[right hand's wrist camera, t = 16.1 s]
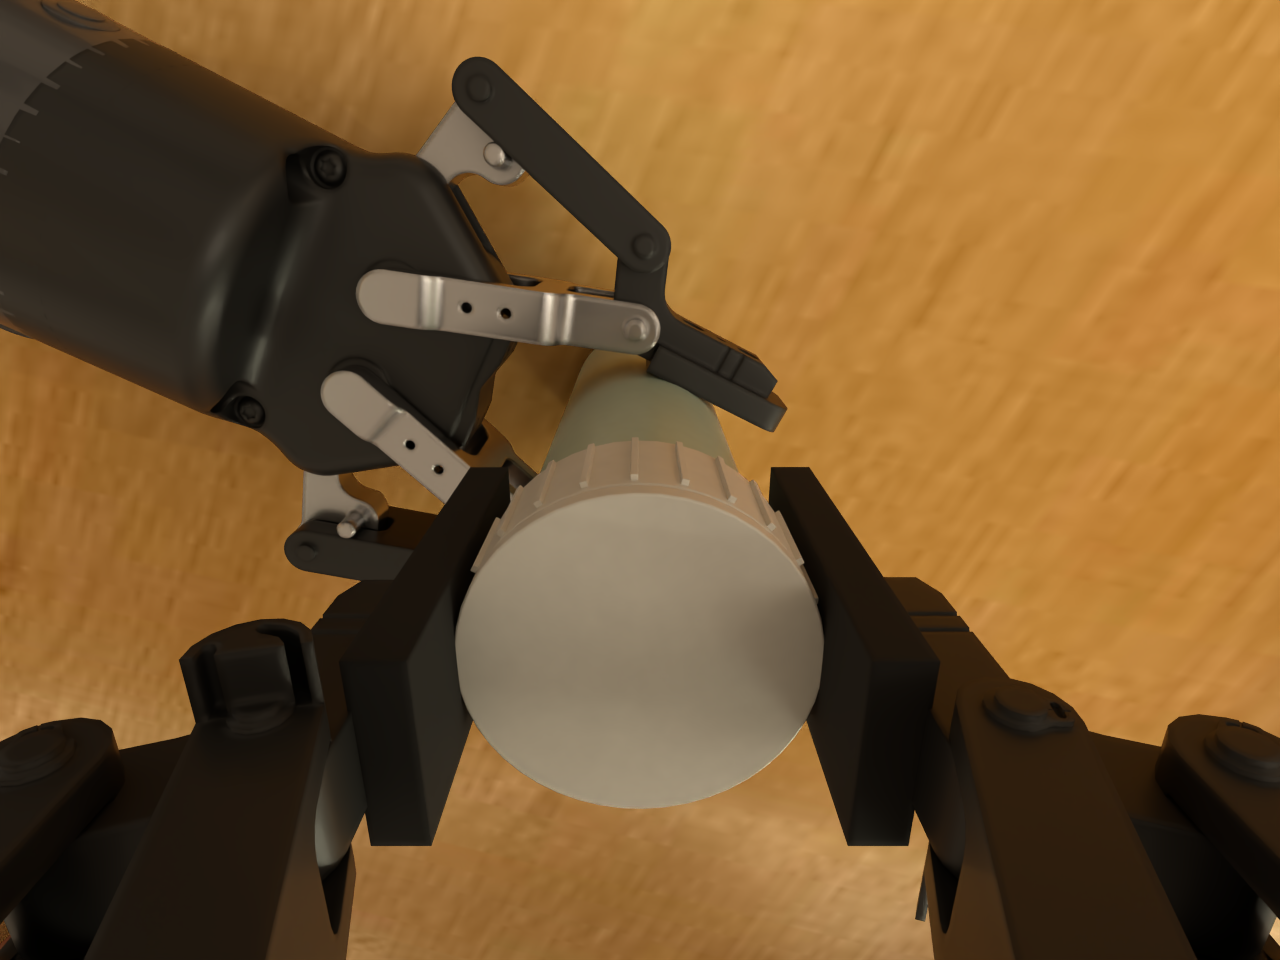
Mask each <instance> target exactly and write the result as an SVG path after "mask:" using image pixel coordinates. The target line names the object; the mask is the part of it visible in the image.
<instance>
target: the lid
mask: <svg viewBox="0 0 1280 960" xmlns="http://www.w3.org/2000/svg"><path fill="white" fill-rule="evenodd" d="M803 564H804V561H803V559H802V557H801V554H800V552H799V550H798V548H797V546H796V544H795V542H794V540H793V538H792V536H791V534H790V531H789V529H788V527H787V525H786V523H785V521H784V519H783V517H782V515H781V513H780V511H777V512H774V511H773V509H772V508H771V506H770V505H769V504H768V502H767V501H766V499H765V498H764V497H763V496H762V493H761V491H760V489H759V487H758V484H757V483H756V482H755V481H754V480H752V481H751V482H749V481H748V480H747V479H745V478H744V477H743V476H742V475H741V474H739V473H738V472H737V471H736V470H734V469H732V468H731V467H729V466H728V465H726V464H725V462H724V459H723V458H722V457H720V456H717V458H713V457H711V456H709V455H707V454H704V453H702V452H700V451H697V450H694V449H691V448H687V447H684V446H683V443H682V442H678V441H676V444H671V443H665V442H659V441H639V438H638V437H632V441H623V442H613V443H608V444H604V445H599V446H595V444H594V443H592V444H589V445H588V447H587V449H585V450H582V451H580V452H577V453H574V454H572V455H570V456H568V457H566V458H564V459H562V460H560V461H558V462H555V461H554V460H552V461H550V462H549V463H548V465H547V468H546V469H545V470H544V471H542V472H541V473H540V474H538V475H537V476H536V477H535V478H534V479H532V480H531V481H530V482H529V483H528V484H527V485H526V486H525V487H524V488H523V487H522V486H521V485H520V486H519V487H518V488H517V489H516V491H515V493H514V495H513V497H512V500H511V502H510V504H509V506H508V508H507V510H506V511H505V513H504V514H503V516H502V518H501V519H499V518H497V517H496V519H495V520H494V522H493V525H492V527H491V529H490V531H489V533H488V535H487V537H486V539H485V541H484V543H483V545H482V547H481V549H480V551H479V554H478V556H477V558H476V560H475V562H474V564H473V566H472V568H471V571H472V572H474V573H475V576H474V577H473V580H472V582H471V584H470V586H469V588H468V591H467V593H466V595H465V598H464V600H463V603H462V605H461V608H460V612H459V616H458V620H457V624H456V629H455V647H456V657H457V667H458V676H459V684H460V692H461V695H462V697H463V700H464V702H465V705H466V708H467V710H468V712H469V714H470V715H471V717H472V719H473V721H474V723H475V724H476V726H477V728H478V729H479V730H480V732H481V733H482V734H483V736H484V737H485V739H486V740H487V741H488V743H489V744H490V745H491V746H492V747H493V748H494V749H495V750H496V751H497V752H498V753H499V754H500V755H501V756H502V757H503V758H504V759H505V760H506V761H507V762H509V763H510V764H511V765H512V766H514V767H515V768H516V769H517V770H519V771H520V772H521V773H523V774H524V775H526V776H528V777H529V778H531V779H532V780H534V781H536V782H537V783H539V784H541V785H543V786H545V787H547V788H549V789H551V790H553V791H555V792H557V793H560V794H563V795H566V796H569V797H571V798H574V799H577V800H581V801H585V802H589V803H593V804H597V805H603V806H610V807H618V808H636V809H647V808H661V807H670V806H675V805H681V804H687V803H691V802H694V801H698V800H701V799H705V798H708V797H711V796H713V795H716V794H718V793H721V792H723V791H726V790H728V789H730V788H732V787H734V786H736V785H738V784H740V783H741V782H743V781H745V780H747V779H749V778H750V777H752V776H753V775H754V774H756V773H757V772H759V771H760V770H762V769H763V768H764V767H766V766H767V765H768V764H769V763H770V762H771V761H773V760H774V759H775V758H776V757H777V756H778V755H779V754H780V753H781V752H782V751H783V750H784V749H785V748H786V747H787V746H788V744H789V743H790V742H791V741H792V740H793V739H794V738H795V736H796V735H797V733H798V732H799V730H800V729H801V727H802V726H803V724H804V723H805V721H806V719H807V717H808V715H809V713H810V711H811V709H812V707H813V705H814V703H815V700H816V697H817V694H818V691H819V686H820V678H821V669H822V660H823V649H824V632H823V625H822V619H821V616H820V613H819V610H818V606H817V604H818V596H817V593H816V591H815V589H814V587H813V585H812V583H811V581H810V579H809V576H808V574H807V572H806V570H805V568H804V566H803Z"/></svg>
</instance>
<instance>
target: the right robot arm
mask: <svg viewBox="0 0 1280 960" xmlns="http://www.w3.org/2000/svg"><path fill="white" fill-rule="evenodd" d="M510 502H511V500H510V486H509V471H508V467H470V468H469V470H468V471H467V473H466V474H465V476H464V477H463V479H462V480H461V481H460V483H459V484H458V486H457V487H456V489H455V490H454V492H453V493H452V495H451V496H450V498H449V499H448V501H447V502H446V504H445V505H444V507H443V508H442V510H441V511H440V513H439V514H438V515H437V517H436V518H435V520H434V521H433V523H432V524H431V526H430V527H429V529H428V530H427V532H426V533H425V535H424V536H423V538H422V539H421V541H420V542H419V544H418V545H417V546H416V548H415V549H414V551H413V552H412V554H411V555H410V557H409V558H408V560H407V561H406V563H405V564H404V566H403V567H402V569H401V570H400V572H399V573H398V575H397V576H396V577H395V579H394V580H362V581H361V582H359V583H358V584H356V585H354V586H353V587H351V588H350V589H348V590H346V591H345V592H343V593H342V594H340V595H338V596H337V598H336V599H335V600H334V601H333V603H332V604H331V605H330V606H329V608H328V609H327V610H326V611H325V613H324V614H323V618H320V619H319V620H318V621H317V623H316V624H315V625H314V626H313V628H312V629H311V630H310V629H309V628H308V627H306V626H305V625H304V624H302V623H301V622H297V621H292V620H288V619H260V620H256V621H251V622H246V623H241V624H237V625H234V626H231V627H228V628H226V629H223V630H221V631H218V632H215V633H213V634H211V635H209V636H207V637H206V638H204V639H203V640H201V641H199V642H198V643H196V644H194V645H193V646H191V647H190V648H189V650H188V651H187V652H186V653H185V654H184V655H183V656H182V657H181V658H180V659H179V662H180V666H181V670H182V673H183V677H184V681H185V685H186V688H187V692H188V696H189V700H190V703H191V707H192V711H193V714H194V718H195V722H196V724H195V726H194V728H193V730H192V732H191V734H190V735H186V736H183V737H179V738H175V739H170V740H165V741H160V742H155V743H151V744H146V745H141V746H136V747H131V748H126V749H121V750H118V746H117V743H116V740H115V737H114V734H113V731H112V728H110V727H109V726H108V725H106V724H105V723H104V722H103V721H101V720H95V719H88V718H74V719H67V720H59V721H52V722H48V723H44V724H41V725H40V726H37V725H36V726H34V727H31V728H28V729H25V730H22V731H20V732H19V733H17V734H16V735H13V736H11V737H9V738H7V739H5V740H3V741H1V742H0V924H1V923H2V922H3V921H4V922H5V924H6V927H7V929H8V931H9V934H10V936H11V938H10V939H9V940H8V941H7V942H6V943H5V945H4V946H3V947H2V948H1V949H0V960H346V953H347V945H348V937H349V929H350V920H351V912H352V904H353V896H354V887H355V879H356V869H355V861H354V855H353V850H352V845H351V841H352V839H353V837H354V835H355V833H356V831H357V828H358V826H359V824H360V822H361V820H362V818H363V815H364V813H365V815H366V820H367V826H368V832H369V838H370V843H371V846H432V843H433V839H434V836H435V833H436V830H437V827H438V824H439V821H440V818H441V815H442V812H443V809H444V806H445V803H446V800H447V797H448V794H449V791H450V788H451V785H452V782H453V779H454V776H455V773H456V770H457V767H458V764H459V761H460V758H461V755H462V752H463V749H464V746H465V743H466V740H467V737H468V734H469V731H470V728H471V725H472V722H473V719H472V717H471V715H470V714H469V712H468V710H467V708H466V705H465V702H464V700H463V697H462V695H461V692H460V684H459V676H458V667H457V657H456V647H455V629H456V624H457V620H458V616H459V612H460V608H461V605H462V603H463V600H464V598H465V595H466V593H467V591H468V588H469V586H470V584H471V582H472V580H473V577H474V576H475V573H474V572H472V571H471V568H472V566H473V564H474V562H475V560H476V558H477V556H478V554H479V551H480V549H481V547H482V545H483V543H484V541H485V539H486V537H487V535H488V533H489V531H490V529H491V527H492V525H493V522H494V520H495V519H496V517H497V518H499V519H501V518H502V516H503V514H504V513H505V511H506V510H507V508H508V506H509V504H510ZM769 505H770V506H771V508H772V509H773V511H774V512H777V511H780V513H781V515H782V517H783V519H784V521H785V523H786V525H787V527H788V529H789V531H790V534H791V536H792V538H793V540H794V542H795V544H796V546H797V548H798V550H799V552H800V554H801V557H802V559H803V561H804V564H803V566H804V568H805V570H806V572H807V574H808V576H809V579H810V581H811V583H812V585H813V587H814V589H815V591H816V593H817V596H818V604H817V606H818V610H819V613H820V616H821V619H822V625H823V632H824V649H823V660H822V669H821V678H820V686H819V691H818V694H817V697H816V700H815V703H814V705H813V707H812V709H811V711H810V713H809V715H808V717H807V719H806V721H807V724H808V727H809V730H810V733H811V736H812V739H813V742H814V745H815V748H816V751H817V754H818V757H819V760H820V763H821V766H822V769H823V772H824V775H825V778H826V781H827V784H828V787H829V790H830V793H831V796H832V799H833V802H834V805H835V808H836V811H837V814H838V817H839V821H840V824H841V827H842V830H843V833H844V836H845V839H846V842H847V845H848V846H908V845H909V839H910V833H911V828H912V822H913V816H914V810H915V811H916V813H917V816H918V818H919V820H920V822H921V824H922V826H923V829H924V831H925V833H926V835H927V837H928V839H929V845H928V850H927V855H926V861H925V866H924V871H923V876H922V882H921V887H920V892H919V898H918V903H917V910H916V917H915V919H916V920H921V921H925V919H926V914H927V908H928V910H929V919H930V927H931V935H932V943H933V952H934V960H1280V946H1279V945H1278V944H1277V942H1276V941H1275V940H1274V939H1273V938H1272V937H1271V935H1270V934H1269V933H1270V931H1271V929H1272V926H1273V924H1274V922H1275V919H1276V917H1278V918H1279V920H1280V738H1278V737H1276V736H1274V735H1272V734H1270V733H1268V732H1266V731H1263V730H1262V729H1261V728H1259V727H1257V726H1254V725H1251V724H1248V723H1245V722H1243V723H1241V722H1239V720H1234V719H1230V718H1225V717H1216V716H1209V715H1201V714H1197V715H1190V716H1182V717H1178V718H1177V719H1176V720H1174V721H1173V722H1172V723H1170V724H1169V725H1168V728H1167V731H1166V734H1165V737H1164V740H1163V743H1162V746H1161V747H1159V746H1155V745H1150V744H1145V743H1140V742H1135V741H1130V740H1125V739H1120V738H1115V737H1110V736H1106V735H1102V734H1098V733H1094V732H1090V731H1088V729H1087V727H1086V725H1085V723H1084V721H1083V720H1082V719H1081V717H1080V716H1079V715H1078V714H1077V712H1076V711H1075V710H1074V708H1073V707H1071V706H1070V705H1069V704H1067V703H1066V702H1064V701H1063V700H1062V699H1060V698H1059V697H1057V696H1056V695H1055V694H1053V693H1051V692H1049V691H1046V690H1044V689H1042V688H1040V687H1037V686H1035V685H1033V684H1030V683H1026V682H1022V681H1018V680H1014V679H1010V678H1009V677H1008V675H1007V674H1006V673H1005V672H1004V670H1003V669H1002V668H1001V667H1000V665H999V664H998V663H997V662H996V660H995V659H994V658H993V657H992V656H991V654H990V653H989V652H988V651H987V649H986V648H985V647H984V646H983V644H982V643H981V642H980V641H979V639H978V638H977V637H976V636H975V634H974V633H973V632H970V631H969V627H968V626H967V624H966V623H965V622H964V621H963V619H962V618H961V617H960V616H957V612H956V611H955V609H954V608H953V607H952V606H951V604H950V603H949V602H948V601H947V599H946V598H945V597H944V596H943V594H942V593H940V592H939V591H937V590H935V589H934V588H932V587H931V586H929V585H927V584H926V583H924V582H923V581H921V580H919V579H918V578H916V577H883V576H882V574H881V573H880V571H879V570H878V568H877V567H876V565H875V564H874V562H873V561H872V559H871V558H870V556H869V555H868V554H867V552H866V551H865V549H864V548H863V546H862V545H861V543H860V542H859V540H858V539H857V537H856V536H855V534H854V533H853V531H852V530H851V528H850V527H849V525H848V524H847V522H846V521H845V520H844V518H843V517H842V515H841V514H840V512H839V511H838V509H837V508H836V506H835V505H834V503H833V502H832V500H831V499H830V497H829V496H828V494H827V493H826V491H825V490H824V488H823V487H822V486H821V484H820V483H819V481H818V480H817V478H816V477H815V475H814V474H813V472H812V471H811V469H810V468H809V467H771V475H770V490H769Z"/></svg>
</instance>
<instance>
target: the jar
mask: <svg viewBox="0 0 1280 960" xmlns="http://www.w3.org/2000/svg"><path fill="white" fill-rule="evenodd" d="M632 437H638V438H639V441H659V442H665V443H671V444H676V441H678V442H682V443H683V446H684V447H687V448H691V449H694V450H697V451H700V452H702V453H704V454H707V455H709V456H711V457H713V458H717V456H720V457H722V458H723V459H724V462H725V464H726V465H728V466H729V467H731V468H732V469H734V470H736V471H737V472H738V469H737V467H736V464H735V461H734V459H733V456H732V454H731V451H730V449H729V446H728V443H727V441H726V438H725V436H724V433H723V431H722V428H721V425H720V423H719V420H718V418H717V415H716V412H715V410H714V407H713V405H712V403H710V402H708V401H706V400H704V399H702V398H700V397H698V396H696V395H694V394H692V393H690V392H689V391H687V390H685V389H683V388H681V387H679V386H677V385H675V384H672V383H670V382H668V381H666V380H664V379H662V378H660V377H658V376H656V375H654V374H652V373H650V372H648V371H647V368H646V359H644V358H642V357H640V356H638V355H632V354H625V353H618V352H611V351H604V350H597V349H594V350H593V351H592V352H591V354H590V355H589V356H588V357H587V359H586V360H585V362H584V364H583V366H582V368H581V370H580V373H579V375H578V378H577V380H576V383H575V385H574V388H573V390H572V393H571V396H570V398H569V401H568V403H567V406H566V408H565V411H564V413H563V416H562V419H561V421H560V424H559V426H558V429H557V431H556V434H555V436H554V439H553V442H552V444H551V447H550V449H549V452H548V454H547V457H546V459H545V462H544V465H543V467H542V470H541V472H542V471H544V470H545V469H546V468H547V465H548V463H549V462H550V461H552V460H554V461H555V462H558V461H560V460H562V459H564V458H566V457H568V456H570V455H572V454H574V453H577V452H580V451H582V450H585V449H587V447H588V445H589V444H592V443H594V444H595V446H599V445H604V444H608V443H613V442H623V441H632ZM541 472H540V473H541ZM738 473H739V472H738Z"/></svg>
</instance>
